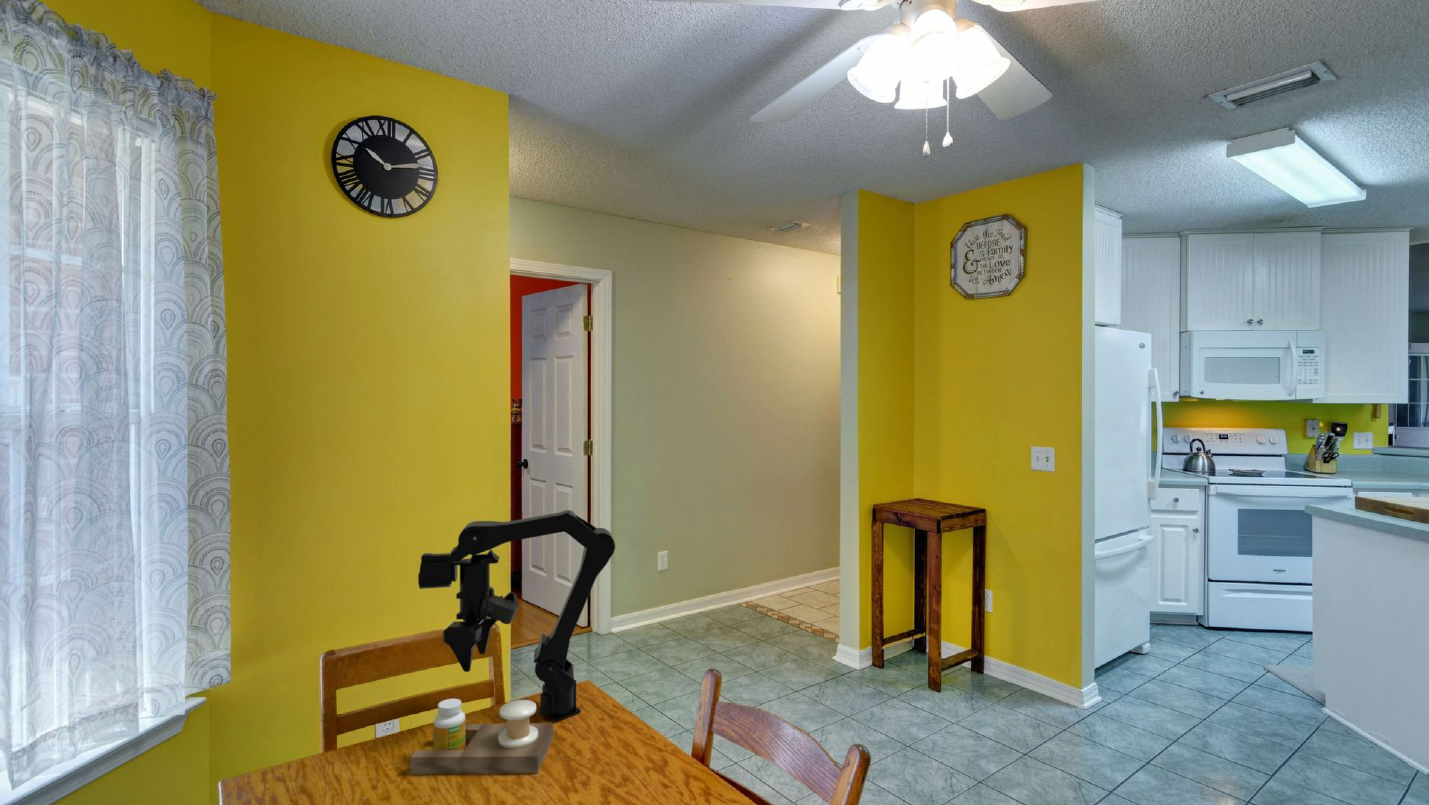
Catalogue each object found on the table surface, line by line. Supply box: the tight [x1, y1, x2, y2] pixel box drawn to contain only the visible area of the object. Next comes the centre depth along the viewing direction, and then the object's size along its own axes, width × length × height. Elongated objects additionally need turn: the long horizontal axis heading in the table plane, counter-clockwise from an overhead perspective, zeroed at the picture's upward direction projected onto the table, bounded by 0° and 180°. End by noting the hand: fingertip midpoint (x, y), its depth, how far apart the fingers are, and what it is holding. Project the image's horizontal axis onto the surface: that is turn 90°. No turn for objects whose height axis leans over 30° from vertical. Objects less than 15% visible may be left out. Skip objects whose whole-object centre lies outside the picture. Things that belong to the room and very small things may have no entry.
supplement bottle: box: [433, 698, 466, 750], centre depth 124 cm, size 5×5×10 cm
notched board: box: [410, 722, 554, 775], centre depth 124 cm, size 22×12×3 cm, turn 91°
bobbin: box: [498, 699, 538, 749], centre depth 124 cm, size 7×7×6 cm
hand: (474, 662), depth 138 cm, fingers open, 9 cm apart
